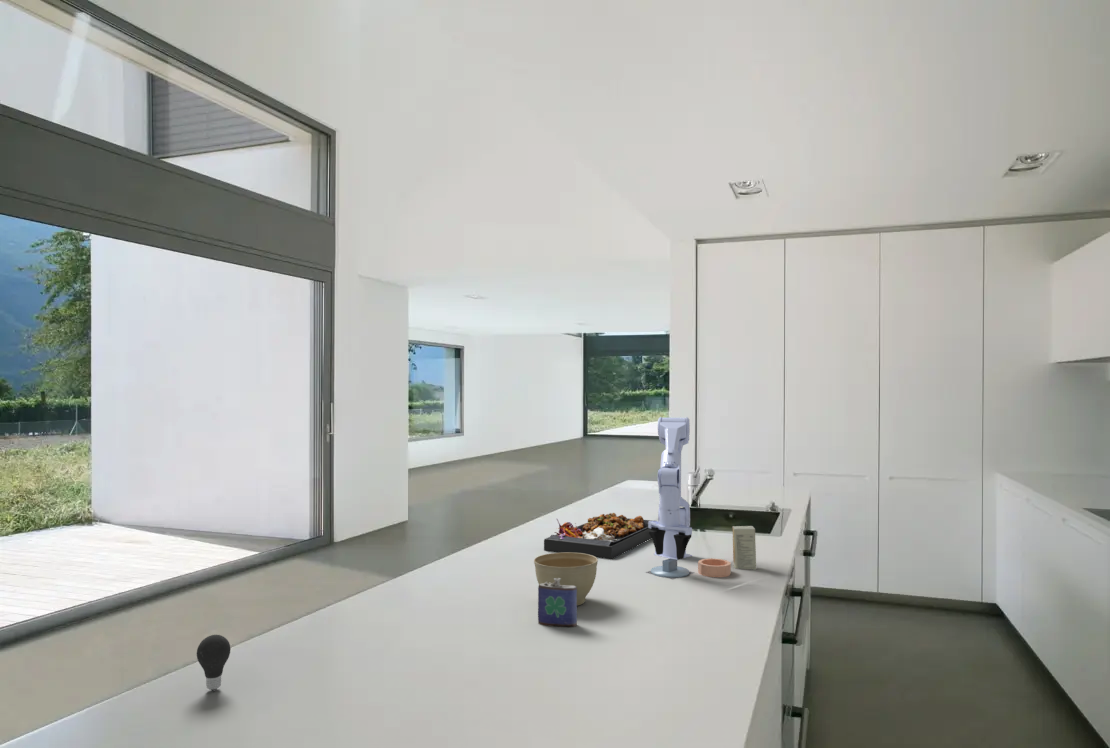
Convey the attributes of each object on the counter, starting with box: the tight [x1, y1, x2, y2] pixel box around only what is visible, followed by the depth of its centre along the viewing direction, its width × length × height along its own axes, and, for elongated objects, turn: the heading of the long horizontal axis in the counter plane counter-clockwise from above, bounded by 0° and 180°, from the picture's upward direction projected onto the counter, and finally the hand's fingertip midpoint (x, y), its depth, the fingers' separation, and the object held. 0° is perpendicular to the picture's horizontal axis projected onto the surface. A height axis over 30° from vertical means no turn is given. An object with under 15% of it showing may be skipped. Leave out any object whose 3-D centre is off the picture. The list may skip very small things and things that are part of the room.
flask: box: [537, 578, 578, 628], centre depth 168 cm, size 9×3×11 cm, turn 74°
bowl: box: [697, 557, 732, 578], centre depth 210 cm, size 9×9×3 cm
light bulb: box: [196, 634, 231, 692], centre depth 133 cm, size 6×6×10 cm
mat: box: [644, 570, 695, 580], centre depth 211 cm, size 10×10×1 cm
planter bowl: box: [533, 552, 599, 606], centre depth 185 cm, size 16×16×11 cm
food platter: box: [543, 512, 653, 560], centre depth 254 cm, size 45×25×10 cm, turn 150°
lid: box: [650, 558, 690, 579], centre depth 211 cm, size 11×11×4 cm
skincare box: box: [732, 525, 757, 571], centre depth 217 cm, size 6×4×12 cm
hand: (669, 556), depth 211 cm, fingers open, 7 cm apart
